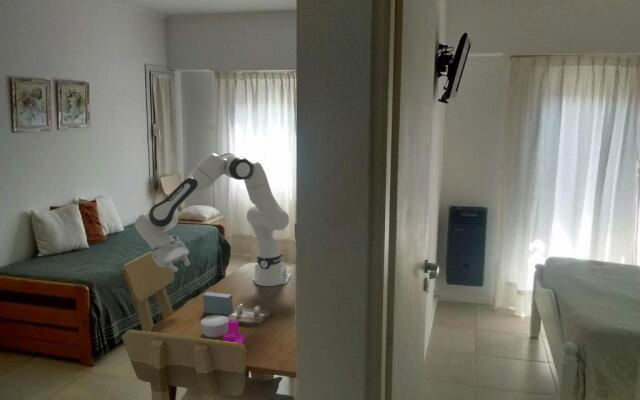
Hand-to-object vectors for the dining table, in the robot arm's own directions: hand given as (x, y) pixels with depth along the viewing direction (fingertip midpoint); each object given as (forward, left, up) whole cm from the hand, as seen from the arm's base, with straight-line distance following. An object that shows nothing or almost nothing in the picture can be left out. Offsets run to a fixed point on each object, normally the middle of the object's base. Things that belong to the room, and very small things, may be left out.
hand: (182, 267), depth 233 cm
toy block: (+29, +40, -19) cm, 53 cm away
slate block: (0, +17, -19) cm, 25 cm away
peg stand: (+3, +33, -19) cm, 38 cm away
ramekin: (+20, +27, -19) cm, 38 cm away
